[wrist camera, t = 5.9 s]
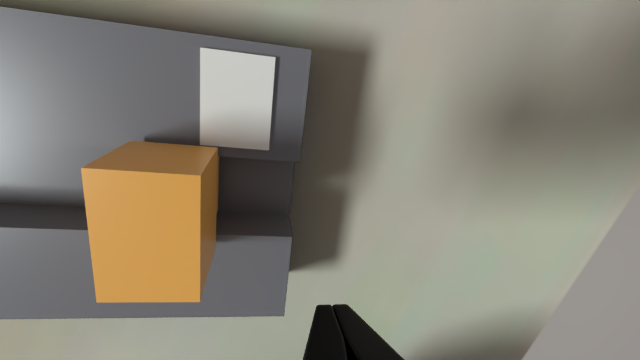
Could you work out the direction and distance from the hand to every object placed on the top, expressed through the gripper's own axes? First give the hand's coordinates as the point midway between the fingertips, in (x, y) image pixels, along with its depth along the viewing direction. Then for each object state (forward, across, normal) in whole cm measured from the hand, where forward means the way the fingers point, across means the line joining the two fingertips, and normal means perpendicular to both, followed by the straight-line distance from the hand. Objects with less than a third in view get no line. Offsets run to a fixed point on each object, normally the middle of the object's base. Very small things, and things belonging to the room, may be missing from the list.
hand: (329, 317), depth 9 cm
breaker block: (+12, +10, 0) cm, 15 cm away
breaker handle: (+10, +6, 0) cm, 12 cm away
